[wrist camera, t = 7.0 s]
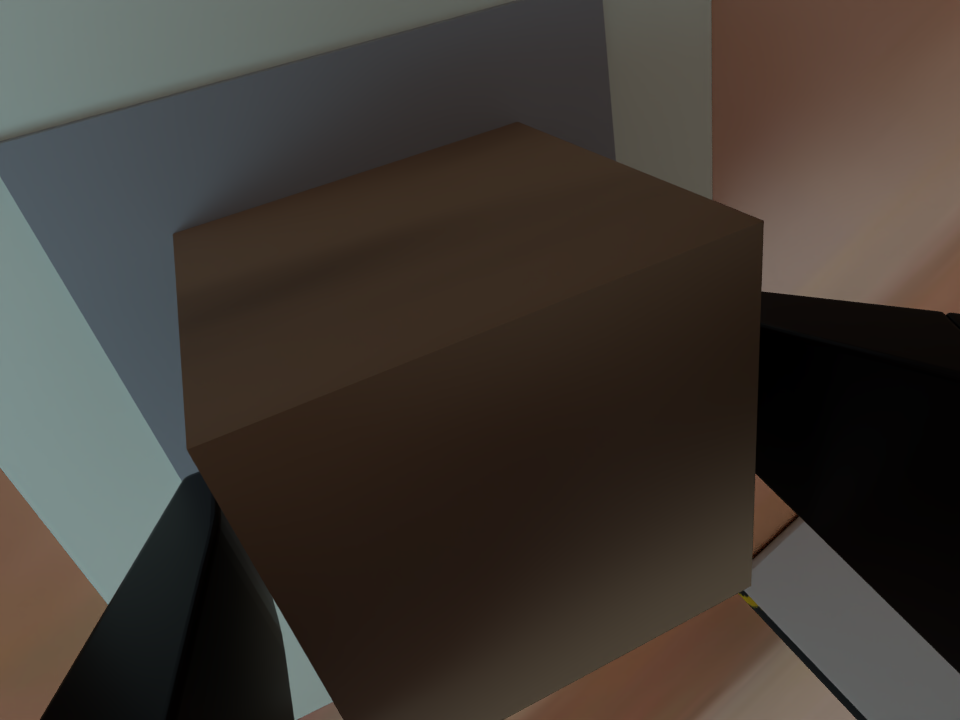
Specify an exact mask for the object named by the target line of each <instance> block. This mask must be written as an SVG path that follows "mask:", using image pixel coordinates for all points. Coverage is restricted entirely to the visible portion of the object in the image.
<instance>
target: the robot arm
mask: <svg viewBox="0 0 960 720" xmlns="http://www.w3.org/2000/svg"><path fill="white" fill-rule="evenodd" d="M755 473H756V474H757V475H758V476H759V477H760V478H761V479H762V480H763V481H764V482H765V483H766V484H767V485H768V486H769V487H770V488H771V489H772V490H773V491H774V492H775V493H776V494H777V495H778V496H779V497H780V498H781V499H782V500H783V501H784V502H785V503H786V504H787V505H788V506H789V507H790V508H791V509H792V510H793V511H794V512H795V513H796V514H797V515H798V516H799V517H800V518H801V519H802V520H803V521H804V522H805V523H806V524H807V525H808V526H809V527H811V528H812V529H813V530H814V531H815V532H816V533H817V534H818V535H819V536H820V537H821V538H822V539H823V540H824V541H825V542H826V543H827V544H828V545H829V546H830V547H831V548H832V549H833V550H834V551H835V552H836V553H837V554H838V555H839V556H840V557H841V558H842V559H843V560H844V561H845V562H846V563H847V564H848V565H849V566H850V567H851V568H852V569H853V570H854V571H855V572H856V573H857V574H858V575H859V576H860V577H861V578H862V579H863V580H864V581H865V582H867V583H868V584H869V585H870V586H871V587H872V588H873V589H874V590H875V591H876V592H877V593H878V594H879V595H880V596H881V597H882V598H883V599H884V600H885V601H886V602H887V603H888V604H889V605H890V606H891V607H892V608H893V609H894V610H895V611H896V612H897V613H898V614H899V615H900V616H901V617H902V618H903V619H904V620H905V621H906V622H907V623H908V624H909V625H910V626H911V627H912V628H913V629H914V630H915V631H916V632H917V633H918V634H919V635H920V636H922V637H923V638H924V639H925V640H926V641H927V642H928V643H929V644H930V645H931V646H932V647H933V648H934V649H935V650H936V651H937V652H938V653H939V654H940V655H941V656H942V657H943V658H944V659H945V660H946V661H947V662H948V663H949V664H950V665H951V666H952V667H953V668H954V669H955V670H956V671H957V672H958V673H959V674H960V314H958V313H948V314H946V315H945V314H944V313H943V312H939V311H930V310H921V309H913V308H904V307H895V306H886V305H877V304H868V303H859V302H850V301H841V300H833V299H824V298H815V297H806V296H797V295H788V294H779V293H770V292H761V315H760V344H759V374H758V403H757V432H756V462H755ZM40 720H294V713H293V705H292V698H291V691H290V683H289V676H288V669H287V661H286V654H285V648H284V642H283V637H282V632H281V628H280V624H279V619H278V615H277V612H276V608H275V605H274V601H273V597H272V596H271V594H270V592H269V591H268V589H267V587H266V585H265V584H264V582H263V580H262V579H261V577H260V575H259V573H258V572H257V570H256V568H255V567H254V565H253V563H252V561H251V560H250V558H249V556H248V554H247V553H246V551H245V549H244V548H243V546H242V544H241V542H240V541H239V539H238V537H237V536H236V534H235V532H234V530H233V529H232V527H231V525H230V524H229V522H228V520H227V518H226V517H225V515H224V513H223V511H222V510H221V508H220V506H219V505H218V503H217V501H216V499H215V498H214V496H213V494H212V493H211V491H210V489H209V487H208V486H207V484H206V482H205V481H204V479H203V477H202V475H201V474H200V472H199V471H198V472H196V473H193V474H191V475H188V476H186V477H185V478H184V479H183V480H182V482H181V483H180V485H179V487H178V488H177V490H176V492H175V494H174V495H173V497H172V499H171V500H170V502H169V504H168V505H167V507H166V509H165V510H164V512H163V514H162V515H161V517H160V519H159V520H158V522H157V524H156V525H155V527H154V529H153V530H152V532H151V534H150V535H149V537H148V539H147V541H146V542H145V544H144V546H143V547H142V549H141V551H140V552H139V554H138V556H137V557H136V559H135V561H134V562H133V564H132V566H131V567H130V569H129V571H128V572H127V574H126V576H125V577H124V579H123V581H122V583H121V584H120V586H119V588H118V589H117V591H116V593H115V594H114V596H113V598H112V599H111V601H110V603H109V604H108V606H107V608H106V609H105V611H104V613H103V614H102V616H101V618H100V619H99V621H98V623H97V624H96V626H95V628H94V630H93V631H92V633H91V635H90V636H89V638H88V640H87V641H86V643H85V645H84V646H83V648H82V650H81V651H80V653H79V655H78V656H77V658H76V660H75V661H74V663H73V665H72V666H71V668H70V670H69V671H68V673H67V675H66V677H65V678H64V680H63V682H62V683H61V685H60V687H59V688H58V690H57V692H56V693H55V695H54V697H53V698H52V700H51V702H50V703H49V705H48V707H47V708H46V710H45V712H44V713H43V715H42V717H41V719H40Z"/></svg>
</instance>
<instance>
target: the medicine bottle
mask: <svg viewBox="0 0 960 720" xmlns="http://www.w3.org/2000/svg"><path fill="white" fill-rule="evenodd" d="M738 594H739V595H740V596H741V597H742V598H743V599H744V600H745V601H746V602H747V603H748V604H749V605H750V606H751V608H752V609H753V610H754V611H755V612H756V613H757V614H758V615H759V616H760V617H761V618H762V619H763V620H764V621H765V622H766V623H767V625H768V626H769V627H770V628H771V629H772V630H773V631H774V632H775V633H776V634H777V635H778V636H779V637H780V638H781V639H782V640H783V642H784V643H785V644H786V645H787V646H788V647H789V648H790V649H791V650H792V651H793V652H794V653H795V654H796V655H797V656H798V657H799V658H800V660H801V661H802V662H803V663H804V664H805V665H806V666H807V667H808V668H809V669H810V670H811V671H812V672H813V673H814V674H815V675H816V677H817V678H818V679H819V680H820V681H821V682H822V683H823V684H824V685H825V686H826V687H827V688H828V689H829V690H830V691H831V692H832V694H833V695H834V696H835V697H836V698H837V699H838V700H839V701H840V702H841V703H842V704H843V705H844V706H845V707H846V708H847V709H848V711H849V712H850V713H851V714H852V715H853V716H854V717H855V718H856V719H857V720H960V674H959V673H958V672H957V671H956V670H955V669H954V668H953V667H952V666H951V665H950V664H949V663H948V662H947V661H946V660H945V659H944V658H943V657H942V656H941V655H940V654H939V653H938V652H937V651H936V650H935V649H934V648H933V647H932V646H931V645H930V644H929V643H928V642H927V641H926V640H925V639H924V638H923V637H922V636H920V635H919V634H918V633H917V632H916V631H915V630H914V629H913V628H912V627H911V626H910V625H909V624H908V623H907V622H906V621H905V620H904V619H903V618H902V617H901V616H900V615H899V614H898V613H897V612H896V611H895V610H894V609H893V608H892V607H891V606H890V605H889V604H888V603H887V602H886V601H885V600H884V599H883V598H882V597H881V596H880V595H879V594H878V593H877V592H876V591H875V590H874V589H873V588H872V587H871V586H870V585H869V584H868V583H867V582H865V581H864V580H863V579H862V578H861V577H860V576H859V575H858V574H857V573H856V572H855V571H854V570H853V569H852V568H851V567H850V566H849V565H848V564H847V563H846V562H845V561H844V560H843V559H842V558H841V557H840V556H839V555H838V554H837V553H836V552H835V551H834V550H833V549H832V548H831V547H830V546H829V545H828V544H827V543H826V542H825V541H824V540H823V539H822V538H821V537H820V536H819V535H818V534H817V533H816V532H815V531H814V530H813V529H812V528H811V527H809V526H808V525H807V524H806V523H805V522H804V521H803V520H802V519H801V518H800V517H798V518H797V519H796V520H795V521H794V522H793V523H791V524H790V525H789V526H788V527H787V528H786V529H785V530H784V531H783V532H782V533H781V534H780V535H779V536H777V537H776V538H775V539H774V540H773V541H772V542H771V543H770V544H769V545H768V546H767V547H766V548H765V549H763V550H762V551H761V552H760V553H759V554H758V555H757V556H756V557H755V558H754V559H753V560H752V579H751V586H750V587H749V588H747V589H745V590H743V591H741V592H739V593H738Z"/></svg>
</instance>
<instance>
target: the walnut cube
mask: <svg viewBox="0 0 960 720" xmlns="http://www.w3.org/2000/svg"><path fill="white" fill-rule="evenodd" d="M763 227H764V221H763V220H760V219H758V218H755V217H753V216H750V215H748V214H745V213H743V212H741V211H738V210H736V209H733V208H731V207H728V206H726V205H723V204H721V203H718V202H716V201H713V200H711V199H708V198H706V197H703V196H701V195H698V194H696V193H693V192H691V191H688V190H686V189H683V188H681V187H679V186H676V185H674V184H671V183H669V182H666V181H664V180H661V179H659V178H656V177H654V176H651V175H649V174H646V173H644V172H641V171H639V170H636V169H634V168H631V167H629V166H626V165H624V164H621V163H619V162H617V161H614V160H612V159H609V158H607V157H604V156H602V155H599V154H597V153H594V152H592V151H589V150H587V149H584V148H582V147H579V146H577V145H574V144H572V143H569V142H567V141H564V140H562V139H559V138H557V137H555V136H552V135H550V134H547V133H545V132H542V131H540V130H537V129H535V128H532V127H530V126H527V125H525V124H522V123H520V122H515V123H512V124H509V125H506V126H503V127H500V128H497V129H494V130H491V131H487V132H484V133H481V134H478V135H475V136H472V137H469V138H466V139H463V140H460V141H457V142H454V143H451V144H448V145H444V146H441V147H438V148H435V149H432V150H429V151H426V152H423V153H420V154H417V155H414V156H411V157H408V158H404V159H401V160H398V161H395V162H392V163H389V164H386V165H383V166H380V167H377V168H374V169H371V170H368V171H365V172H361V173H358V174H355V175H352V176H349V177H346V178H343V179H340V180H337V181H334V182H331V183H328V184H325V185H321V186H318V187H315V188H312V189H309V190H306V191H303V192H300V193H297V194H294V195H291V196H288V197H285V198H282V199H278V200H275V201H272V202H269V203H266V204H263V205H260V206H257V207H254V208H251V209H248V210H245V211H242V212H239V213H235V214H232V215H229V216H226V217H223V218H220V219H217V220H214V221H211V222H208V223H205V224H202V225H199V226H195V227H192V228H189V229H186V230H183V231H180V232H177V233H174V234H173V246H174V261H175V277H176V292H177V308H178V324H179V339H180V355H181V370H182V386H183V401H184V417H185V432H186V448H187V451H188V453H189V455H190V456H191V458H192V460H193V462H194V463H195V465H196V467H197V468H198V470H199V472H200V474H201V475H202V477H203V479H204V481H205V482H206V484H207V486H208V487H209V489H210V491H211V493H212V494H213V496H214V498H215V499H216V501H217V503H218V505H219V506H220V508H221V510H222V511H223V513H224V515H225V517H226V518H227V520H228V522H229V524H230V525H231V527H232V529H233V530H234V532H235V534H236V536H237V537H238V539H239V541H240V542H241V544H242V546H243V548H244V549H245V551H246V553H247V554H248V556H249V558H250V560H251V561H252V563H253V565H254V567H255V568H256V570H257V572H258V573H259V575H260V577H261V579H262V580H263V582H264V584H265V585H266V587H267V589H268V591H269V592H270V594H271V596H272V597H273V599H274V601H275V603H276V604H277V606H278V608H279V610H280V611H281V613H282V615H283V616H284V618H285V620H286V622H287V623H288V625H289V627H290V628H291V630H292V632H293V634H294V635H295V637H296V639H297V640H298V642H299V644H300V646H301V647H302V649H303V651H304V653H305V654H306V656H307V658H308V659H309V661H310V663H311V665H312V666H313V668H314V670H315V671H316V673H317V675H318V677H319V678H320V680H321V682H322V683H323V685H324V687H325V689H326V690H327V692H328V694H329V696H330V697H331V699H332V701H333V702H334V704H335V706H336V708H337V709H338V711H339V713H340V714H341V716H342V718H343V720H504V719H506V718H508V717H509V716H511V715H513V714H515V713H517V712H519V711H521V710H522V709H524V708H526V707H528V706H530V705H532V704H534V703H535V702H537V701H539V700H541V699H543V698H545V697H547V696H548V695H550V694H552V693H554V692H556V691H558V690H560V689H561V688H563V687H565V686H567V685H569V684H571V683H572V682H574V681H576V680H578V679H580V678H582V677H584V676H585V675H587V674H589V673H591V672H593V671H595V670H597V669H598V668H600V667H602V666H604V665H606V664H608V663H610V662H611V661H613V660H615V659H617V658H619V657H621V656H623V655H624V654H626V653H628V652H630V651H632V650H634V649H635V648H637V647H639V646H641V645H643V644H645V643H647V642H648V641H650V640H652V639H654V638H656V637H658V636H660V635H661V634H663V633H665V632H667V631H669V630H671V629H673V628H674V627H676V626H678V625H680V624H682V623H684V622H686V621H687V620H689V619H691V618H693V617H695V616H697V615H699V614H700V613H702V612H704V611H706V610H708V609H710V608H711V607H713V606H715V605H717V604H719V603H721V602H723V601H724V600H726V599H728V598H730V597H732V596H734V595H736V594H737V593H739V592H741V591H743V590H745V589H747V588H749V587H750V586H751V579H752V550H753V520H754V491H755V462H756V432H757V403H758V374H759V344H760V315H761V286H762V256H763Z"/></svg>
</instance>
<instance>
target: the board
mask: <svg viewBox="0 0 960 720" xmlns="http://www.w3.org/2000/svg"><path fill="white" fill-rule="evenodd" d="M515 122H520V123H522V124H525V125H527V126H530V127H532V128H535V129H537V130H540V131H542V132H545V133H547V134H550V135H552V136H555V137H557V138H559V139H562V140H564V141H567V142H569V143H572V144H574V145H577V146H579V147H582V148H584V149H587V150H589V151H592V152H594V153H597V154H599V155H602V156H604V157H607V158H609V159H612V160H614V161H617V162H619V163H621V164H624V165H626V166H629V167H631V168H634V169H636V170H639V171H641V172H644V173H646V174H649V175H651V176H654V177H656V178H659V179H661V180H664V181H666V182H669V183H671V184H674V185H676V186H679V187H681V188H683V189H686V190H688V191H691V192H693V193H696V194H698V195H701V196H703V197H706V198H708V199H711V200H712V15H711V0H0V468H1V469H2V470H3V472H4V473H5V474H6V475H7V477H8V478H9V479H10V481H11V482H12V483H13V484H14V486H15V487H16V488H17V489H18V491H19V492H20V493H21V495H22V496H23V497H24V498H25V500H26V501H27V502H28V503H29V505H30V506H31V507H32V508H33V510H34V511H35V512H36V514H37V515H38V516H39V517H40V519H41V520H42V521H43V522H44V524H45V525H46V526H47V528H48V529H49V530H50V531H51V533H52V534H53V535H54V536H55V538H56V539H57V540H58V542H59V543H60V544H61V545H62V547H63V548H64V549H65V550H66V552H67V553H68V554H69V556H70V557H71V558H72V559H73V561H74V562H75V563H76V564H77V566H78V567H79V568H80V570H81V571H82V572H83V573H84V575H85V576H86V577H87V578H88V580H89V581H90V582H91V584H92V585H93V586H94V587H95V589H96V590H97V591H98V592H99V594H100V595H101V596H102V598H103V599H104V600H105V601H106V603H107V604H109V603H110V601H111V599H112V598H113V596H114V594H115V593H116V591H117V589H118V588H119V586H120V584H121V583H122V581H123V579H124V577H125V576H126V574H127V572H128V571H129V569H130V567H131V566H132V564H133V562H134V561H135V559H136V557H137V556H138V554H139V552H140V551H141V549H142V547H143V546H144V544H145V542H146V541H147V539H148V537H149V535H150V534H151V532H152V530H153V529H154V527H155V525H156V524H157V522H158V520H159V519H160V517H161V515H162V514H163V512H164V510H165V509H166V507H167V505H168V504H169V502H170V500H171V499H172V497H173V495H174V494H175V492H176V490H177V488H178V487H179V485H180V483H181V482H182V480H183V479H184V478H185V477H186V476H188V475H191V474H193V473H196V472H198V471H199V470H198V468H197V467H196V465H195V463H194V462H193V460H192V458H191V456H190V455H189V453H188V451H187V448H186V432H185V417H184V401H183V386H182V370H181V355H180V339H179V324H178V308H177V292H176V277H175V261H174V246H173V234H174V233H177V232H180V231H183V230H186V229H189V228H192V227H195V226H199V225H202V224H205V223H208V222H211V221H214V220H217V219H220V218H223V217H226V216H229V215H232V214H235V213H239V212H242V211H245V210H248V209H251V208H254V207H257V206H260V205H263V204H266V203H269V202H272V201H275V200H278V199H282V198H285V197H288V196H291V195H294V194H297V193H300V192H303V191H306V190H309V189H312V188H315V187H318V186H321V185H325V184H328V183H331V182H334V181H337V180H340V179H343V178H346V177H349V176H352V175H355V174H358V173H361V172H365V171H368V170H371V169H374V168H377V167H380V166H383V165H386V164H389V163H392V162H395V161H398V160H401V159H404V158H408V157H411V156H414V155H417V154H420V153H423V152H426V151H429V150H432V149H435V148H438V147H441V146H444V145H448V144H451V143H454V142H457V141H460V140H463V139H466V138H469V137H472V136H475V135H478V134H481V133H484V132H487V131H491V130H494V129H497V128H500V127H503V126H506V125H509V124H512V123H515ZM273 601H274V599H273ZM274 605H275V608H276V612H277V615H278V619H279V624H280V628H281V632H282V637H283V642H284V648H285V654H286V661H287V669H288V676H289V683H290V691H291V698H292V705H293V713H294V720H297V719H299V718H301V717H303V716H305V715H307V714H309V713H311V712H313V711H315V710H317V709H319V708H321V707H323V706H325V705H327V704H329V703H331V702H333V701H332V699H331V697H330V696H329V694H328V692H327V690H326V689H325V687H324V685H323V683H322V682H321V680H320V678H319V677H318V675H317V673H316V671H315V670H314V668H313V666H312V665H311V663H310V661H309V659H308V658H307V656H306V654H305V653H304V651H303V649H302V647H301V646H300V644H299V642H298V640H297V639H296V637H295V635H294V634H293V632H292V630H291V628H290V627H289V625H288V623H287V622H286V620H285V618H284V616H283V615H282V613H281V611H280V610H279V608H278V606H277V604H276V603H275V601H274Z"/></svg>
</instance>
